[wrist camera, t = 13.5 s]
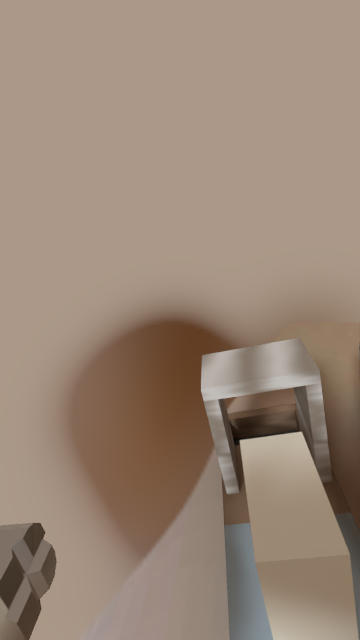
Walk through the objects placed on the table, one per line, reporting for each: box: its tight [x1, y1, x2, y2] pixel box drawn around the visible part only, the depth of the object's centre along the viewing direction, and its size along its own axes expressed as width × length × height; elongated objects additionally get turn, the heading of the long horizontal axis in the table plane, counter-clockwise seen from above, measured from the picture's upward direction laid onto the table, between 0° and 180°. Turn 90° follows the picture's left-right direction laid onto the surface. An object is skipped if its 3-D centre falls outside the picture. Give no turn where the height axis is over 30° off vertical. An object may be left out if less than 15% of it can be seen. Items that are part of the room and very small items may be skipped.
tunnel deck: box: [201, 338, 360, 640], centre depth 38 cm, size 13×32×18 cm, turn 177°
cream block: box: [240, 432, 359, 640], centre depth 30 cm, size 6×12×10 cm, turn 177°
